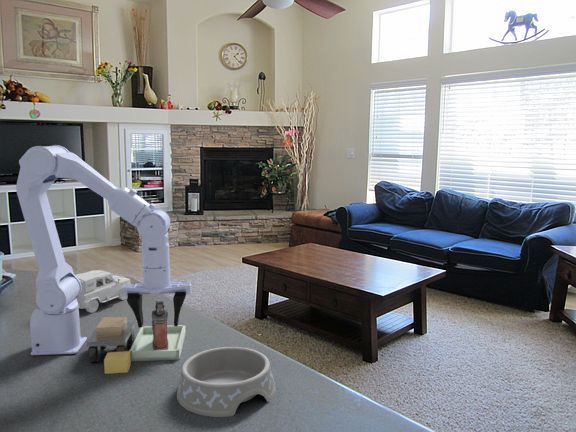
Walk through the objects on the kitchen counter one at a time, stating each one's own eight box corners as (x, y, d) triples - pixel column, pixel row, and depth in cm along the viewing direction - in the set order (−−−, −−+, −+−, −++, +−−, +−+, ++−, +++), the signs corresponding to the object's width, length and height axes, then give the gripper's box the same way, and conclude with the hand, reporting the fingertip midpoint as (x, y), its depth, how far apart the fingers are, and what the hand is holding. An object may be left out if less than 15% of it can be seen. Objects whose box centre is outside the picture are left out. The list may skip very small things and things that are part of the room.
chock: (104, 374, 99) (103, 360, 98) (108, 366, 102) (107, 352, 102) (128, 373, 99) (127, 358, 99) (130, 364, 103) (130, 351, 102)
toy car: (137, 296, 145) (135, 263, 144) (82, 319, 127) (80, 281, 126) (110, 292, 150) (109, 259, 148) (54, 313, 132) (51, 276, 130)
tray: (129, 361, 104) (128, 352, 103) (141, 334, 118) (141, 326, 117) (179, 359, 105) (179, 350, 104) (185, 332, 119) (185, 324, 118)
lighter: (152, 339, 114) (151, 296, 112) (167, 337, 114) (166, 295, 113) (152, 353, 106) (151, 308, 104) (169, 352, 107) (168, 307, 105)
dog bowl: (161, 387, 94) (160, 360, 93) (244, 361, 105) (243, 336, 104) (204, 429, 81) (203, 398, 80) (294, 394, 92) (294, 366, 91)
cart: (87, 365, 102) (85, 333, 101) (101, 343, 113) (99, 314, 112) (125, 363, 103) (123, 332, 102) (135, 341, 114) (134, 313, 113)
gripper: (117, 271, 104) (120, 333, 106) (188, 269, 105) (190, 330, 107) (124, 262, 111) (127, 321, 113) (191, 261, 112) (193, 319, 114)
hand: (158, 325), depth 110 cm, fingers open, 7 cm apart
